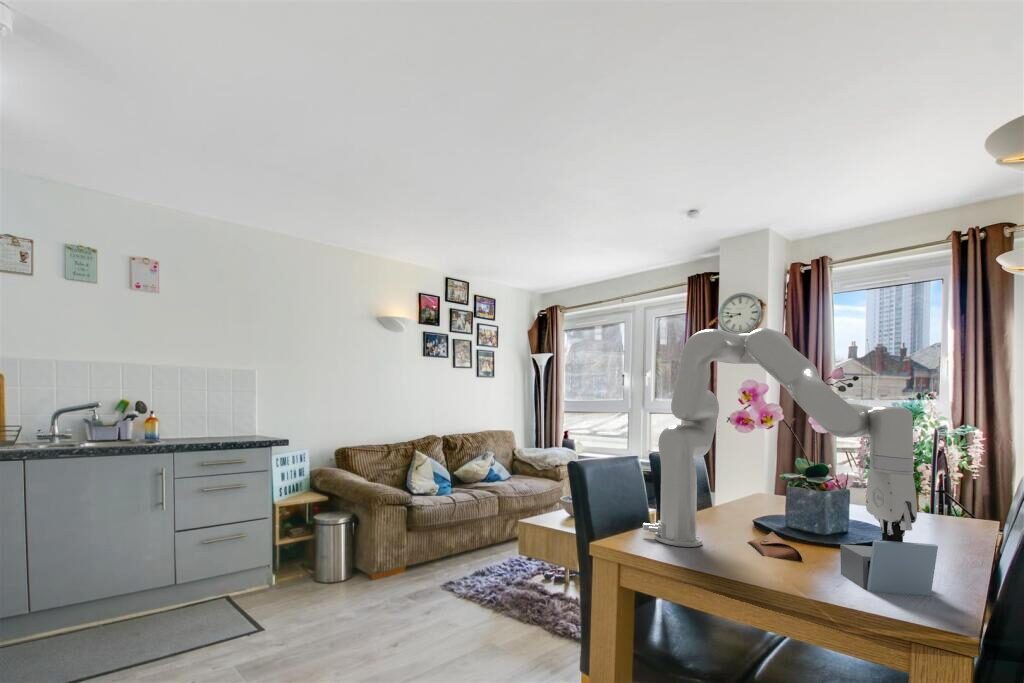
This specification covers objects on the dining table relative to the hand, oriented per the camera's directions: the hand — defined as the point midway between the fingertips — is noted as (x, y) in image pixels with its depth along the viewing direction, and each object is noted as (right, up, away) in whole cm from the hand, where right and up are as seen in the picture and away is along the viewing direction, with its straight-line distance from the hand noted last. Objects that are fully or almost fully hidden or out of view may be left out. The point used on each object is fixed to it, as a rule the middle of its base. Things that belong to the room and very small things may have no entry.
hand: (892, 553), depth 110 cm
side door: (+1, -8, -1) cm, 8 cm away
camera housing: (+1, -9, +4) cm, 10 cm away
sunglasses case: (-12, -12, +27) cm, 32 cm away
